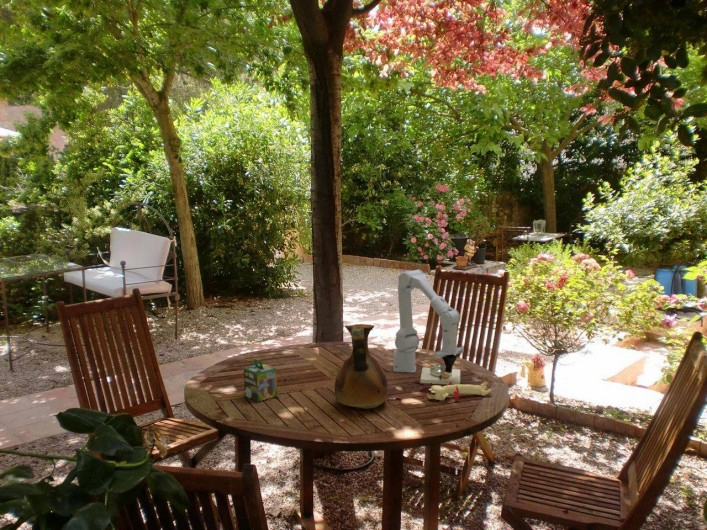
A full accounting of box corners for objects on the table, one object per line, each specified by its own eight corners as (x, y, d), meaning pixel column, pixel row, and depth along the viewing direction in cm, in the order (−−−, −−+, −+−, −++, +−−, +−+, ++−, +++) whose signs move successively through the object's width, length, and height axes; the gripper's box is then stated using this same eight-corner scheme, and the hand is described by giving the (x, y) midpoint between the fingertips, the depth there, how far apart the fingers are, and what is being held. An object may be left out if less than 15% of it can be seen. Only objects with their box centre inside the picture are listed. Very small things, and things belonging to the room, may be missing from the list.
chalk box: (277, 397, 230) (277, 359, 228) (257, 403, 224) (257, 364, 222) (263, 390, 237) (262, 354, 235) (243, 396, 230) (242, 359, 228)
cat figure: (481, 393, 239) (422, 393, 232) (484, 372, 238) (424, 371, 231) (493, 402, 229) (432, 402, 223) (496, 380, 228) (434, 380, 222)
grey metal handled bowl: (428, 370, 257) (428, 359, 257) (449, 370, 257) (450, 359, 257) (434, 384, 240) (435, 373, 239) (457, 384, 240) (457, 373, 239)
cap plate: (420, 382, 247) (420, 379, 246) (422, 370, 262) (422, 367, 262) (460, 385, 244) (460, 381, 244) (460, 372, 260) (460, 369, 259)
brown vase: (385, 394, 233) (386, 318, 229) (390, 414, 213) (391, 332, 209) (334, 395, 232) (334, 319, 228) (334, 415, 212) (334, 332, 208)
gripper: (443, 345, 236) (442, 378, 238) (469, 339, 244) (468, 371, 246) (431, 341, 242) (430, 373, 244) (456, 335, 250) (456, 367, 252)
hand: (448, 372), depth 246 cm, fingers closed, pressing on grey metal handled bowl
